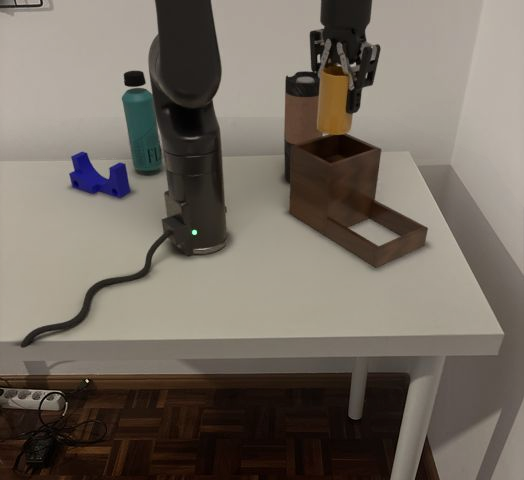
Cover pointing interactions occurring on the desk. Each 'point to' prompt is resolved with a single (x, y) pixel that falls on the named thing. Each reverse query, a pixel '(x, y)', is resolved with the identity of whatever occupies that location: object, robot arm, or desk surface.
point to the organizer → (347, 196)
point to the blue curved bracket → (98, 177)
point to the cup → (333, 102)
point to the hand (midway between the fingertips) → (338, 106)
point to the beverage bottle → (141, 123)
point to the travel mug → (300, 112)
